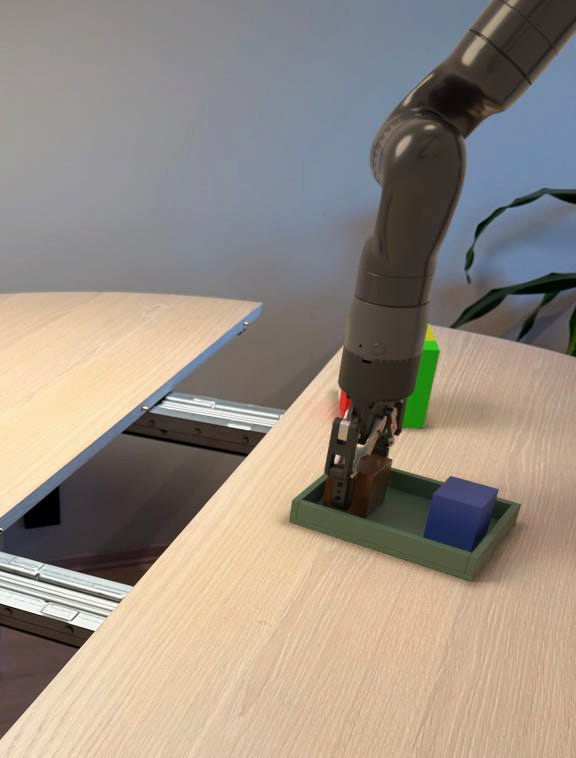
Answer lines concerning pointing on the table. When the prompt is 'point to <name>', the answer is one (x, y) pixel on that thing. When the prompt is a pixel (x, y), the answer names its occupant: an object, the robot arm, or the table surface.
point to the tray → (404, 524)
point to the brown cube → (365, 486)
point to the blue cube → (460, 513)
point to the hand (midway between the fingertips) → (356, 492)
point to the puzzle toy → (421, 394)
